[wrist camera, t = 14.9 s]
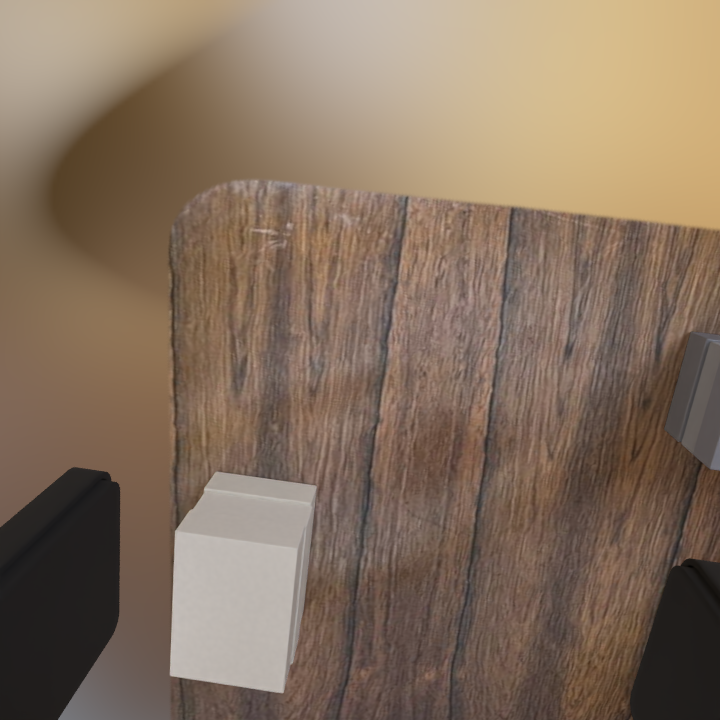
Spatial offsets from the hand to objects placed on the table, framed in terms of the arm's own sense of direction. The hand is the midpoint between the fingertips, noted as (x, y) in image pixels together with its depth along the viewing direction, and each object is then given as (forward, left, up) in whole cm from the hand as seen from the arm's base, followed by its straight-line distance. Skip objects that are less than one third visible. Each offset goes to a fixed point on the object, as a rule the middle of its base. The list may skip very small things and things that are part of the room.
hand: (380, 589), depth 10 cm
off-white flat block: (+6, -18, -23) cm, 30 cm away
